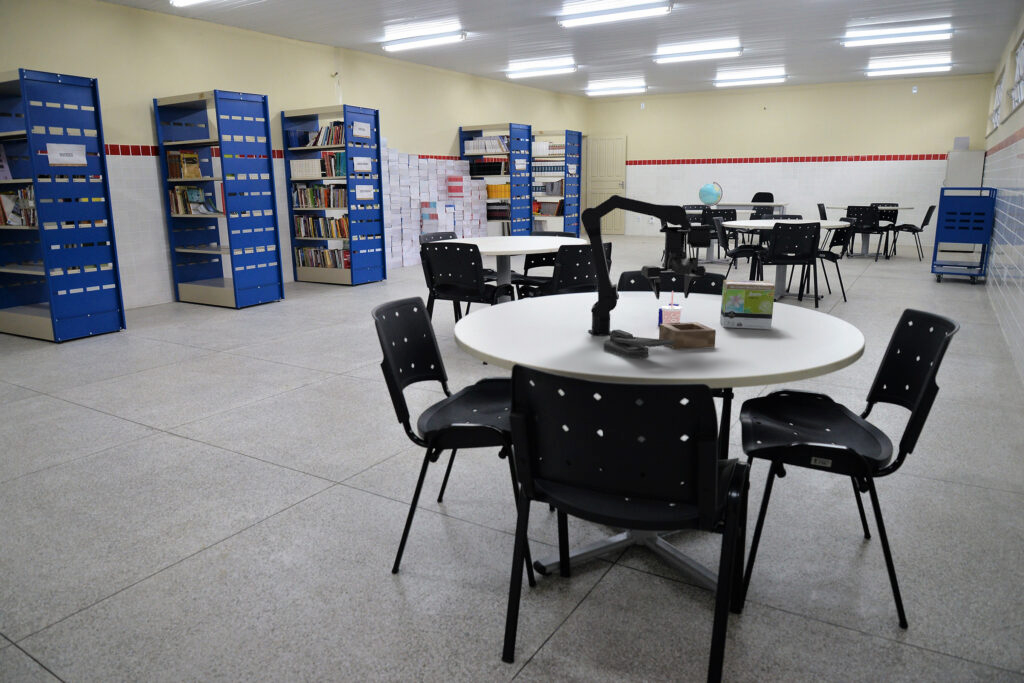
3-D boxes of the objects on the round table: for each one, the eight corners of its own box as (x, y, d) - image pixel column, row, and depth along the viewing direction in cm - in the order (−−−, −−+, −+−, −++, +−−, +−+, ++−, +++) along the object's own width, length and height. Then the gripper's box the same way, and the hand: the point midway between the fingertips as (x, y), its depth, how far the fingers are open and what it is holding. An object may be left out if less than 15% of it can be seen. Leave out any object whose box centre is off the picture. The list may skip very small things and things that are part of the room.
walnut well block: (658, 340, 204) (659, 323, 203) (695, 338, 207) (696, 322, 205) (675, 349, 193) (676, 332, 192) (714, 347, 195) (715, 330, 194)
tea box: (723, 328, 220) (726, 283, 217) (719, 322, 230) (722, 279, 226) (771, 330, 217) (775, 284, 214) (766, 323, 227) (769, 280, 224)
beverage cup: (661, 337, 208) (663, 292, 204) (659, 333, 214) (661, 289, 210) (681, 338, 207) (683, 292, 204) (679, 333, 213) (681, 289, 210)
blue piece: (665, 319, 235) (665, 303, 234) (677, 321, 233) (678, 304, 232) (653, 326, 225) (654, 308, 224) (666, 327, 223) (667, 309, 222)
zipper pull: (649, 343, 172) (599, 325, 194) (648, 369, 173) (599, 347, 196) (678, 340, 175) (626, 322, 197) (677, 365, 177) (625, 344, 199)
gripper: (656, 250, 194) (653, 304, 198) (716, 249, 198) (712, 302, 202) (641, 247, 205) (639, 298, 209) (698, 246, 209) (695, 296, 212)
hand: (671, 298), depth 208 cm, fingers open, 9 cm apart
